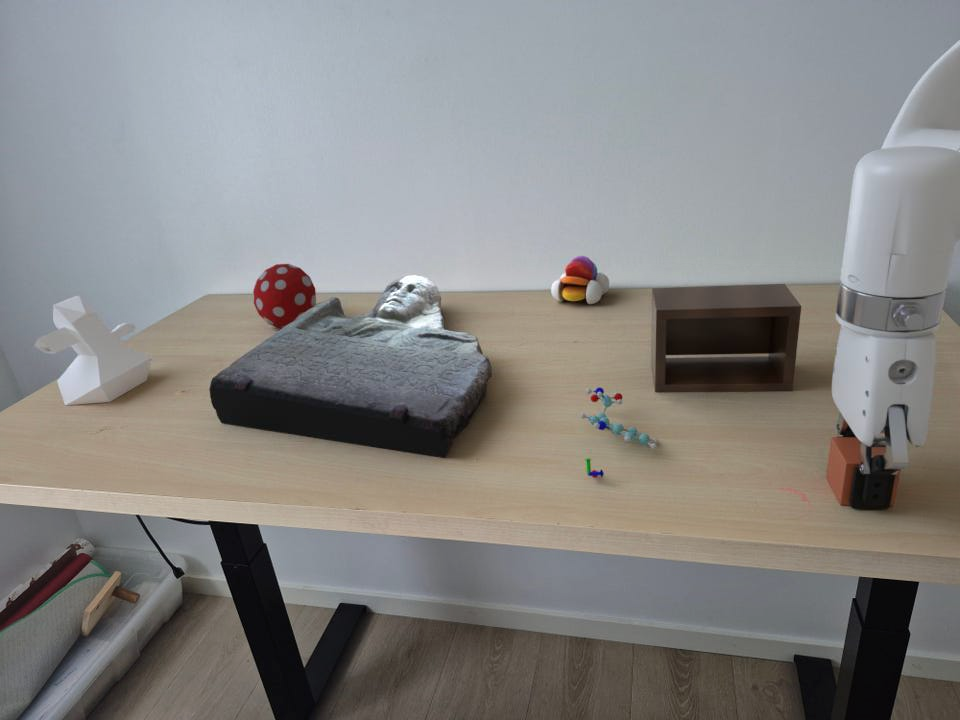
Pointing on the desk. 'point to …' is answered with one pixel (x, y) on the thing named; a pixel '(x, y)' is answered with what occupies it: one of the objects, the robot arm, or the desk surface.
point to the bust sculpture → (361, 375)
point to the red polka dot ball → (283, 294)
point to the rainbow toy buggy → (580, 282)
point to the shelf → (724, 338)
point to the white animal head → (93, 355)
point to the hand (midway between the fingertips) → (859, 488)
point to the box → (848, 467)
